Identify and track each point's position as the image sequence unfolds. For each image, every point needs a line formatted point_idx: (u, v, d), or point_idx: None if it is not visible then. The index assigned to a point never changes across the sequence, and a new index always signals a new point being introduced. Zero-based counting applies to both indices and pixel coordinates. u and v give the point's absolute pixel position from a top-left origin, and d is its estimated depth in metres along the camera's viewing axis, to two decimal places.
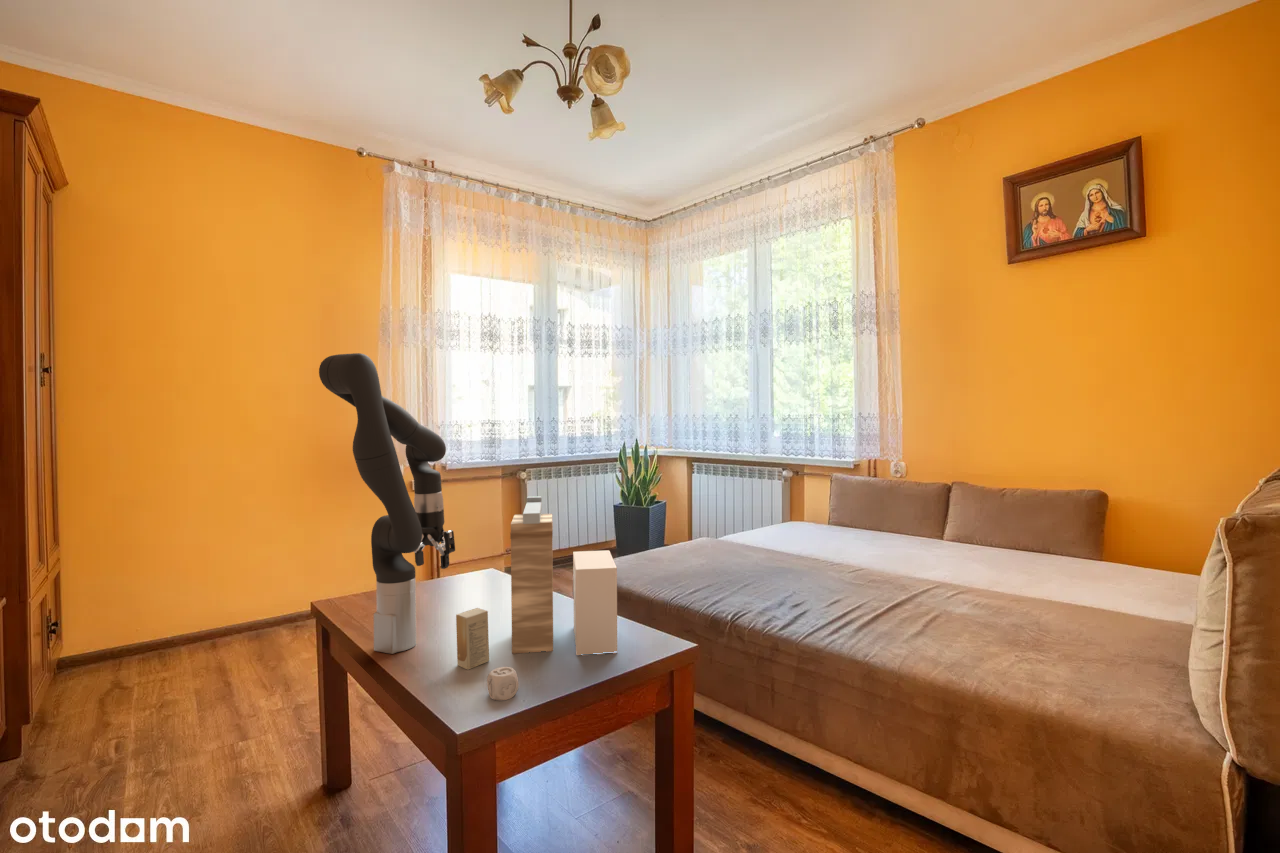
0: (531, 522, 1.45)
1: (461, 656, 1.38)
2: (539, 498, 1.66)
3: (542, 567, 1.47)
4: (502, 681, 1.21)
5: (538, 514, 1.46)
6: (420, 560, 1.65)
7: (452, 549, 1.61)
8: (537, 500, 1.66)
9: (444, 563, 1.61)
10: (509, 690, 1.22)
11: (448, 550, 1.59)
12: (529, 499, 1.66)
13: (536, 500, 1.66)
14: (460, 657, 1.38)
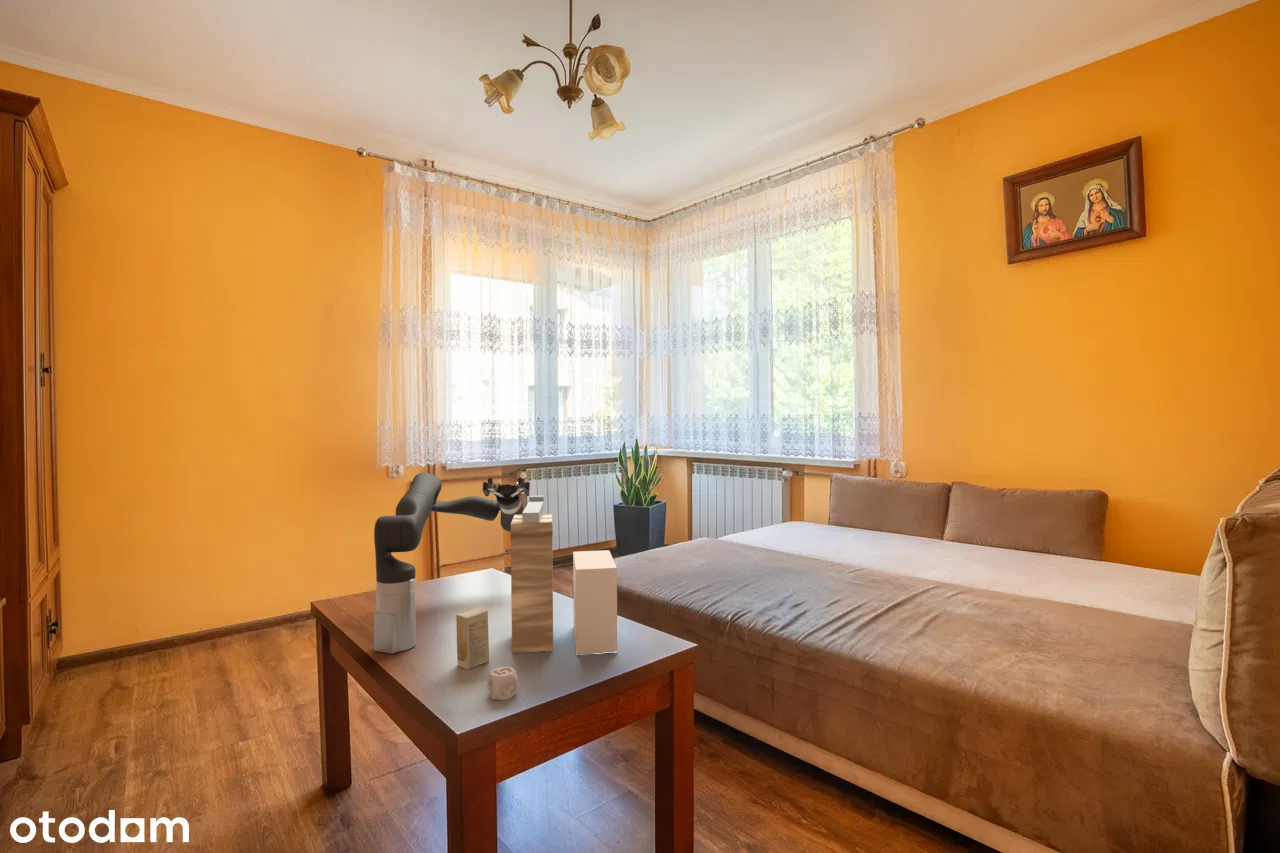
0: (530, 521, 1.47)
1: (461, 656, 1.38)
2: (541, 497, 1.68)
3: (542, 567, 1.47)
4: (502, 681, 1.21)
5: (537, 513, 1.47)
6: None
7: None
8: (539, 499, 1.67)
9: (488, 484, 1.79)
10: (509, 690, 1.22)
11: (483, 490, 1.82)
12: (531, 498, 1.67)
13: (538, 499, 1.67)
14: (460, 657, 1.38)
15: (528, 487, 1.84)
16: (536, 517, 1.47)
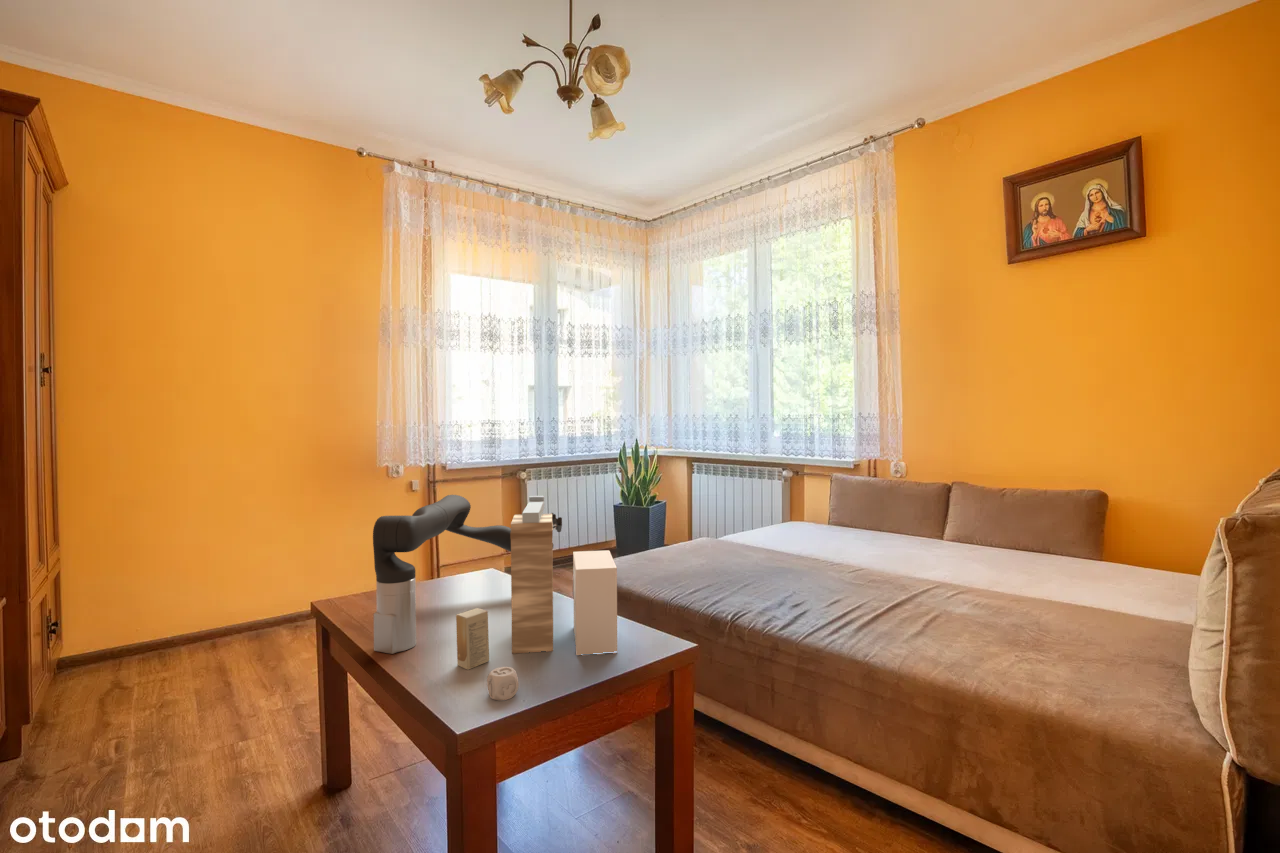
0: (530, 521, 1.47)
1: (461, 656, 1.38)
2: (541, 497, 1.68)
3: (542, 567, 1.47)
4: (502, 681, 1.21)
5: (537, 513, 1.47)
6: None
7: None
8: (539, 499, 1.67)
9: None
10: (509, 690, 1.22)
11: None
12: (531, 498, 1.67)
13: (538, 499, 1.67)
14: (460, 657, 1.38)
15: (560, 523, 1.76)
16: (536, 517, 1.47)
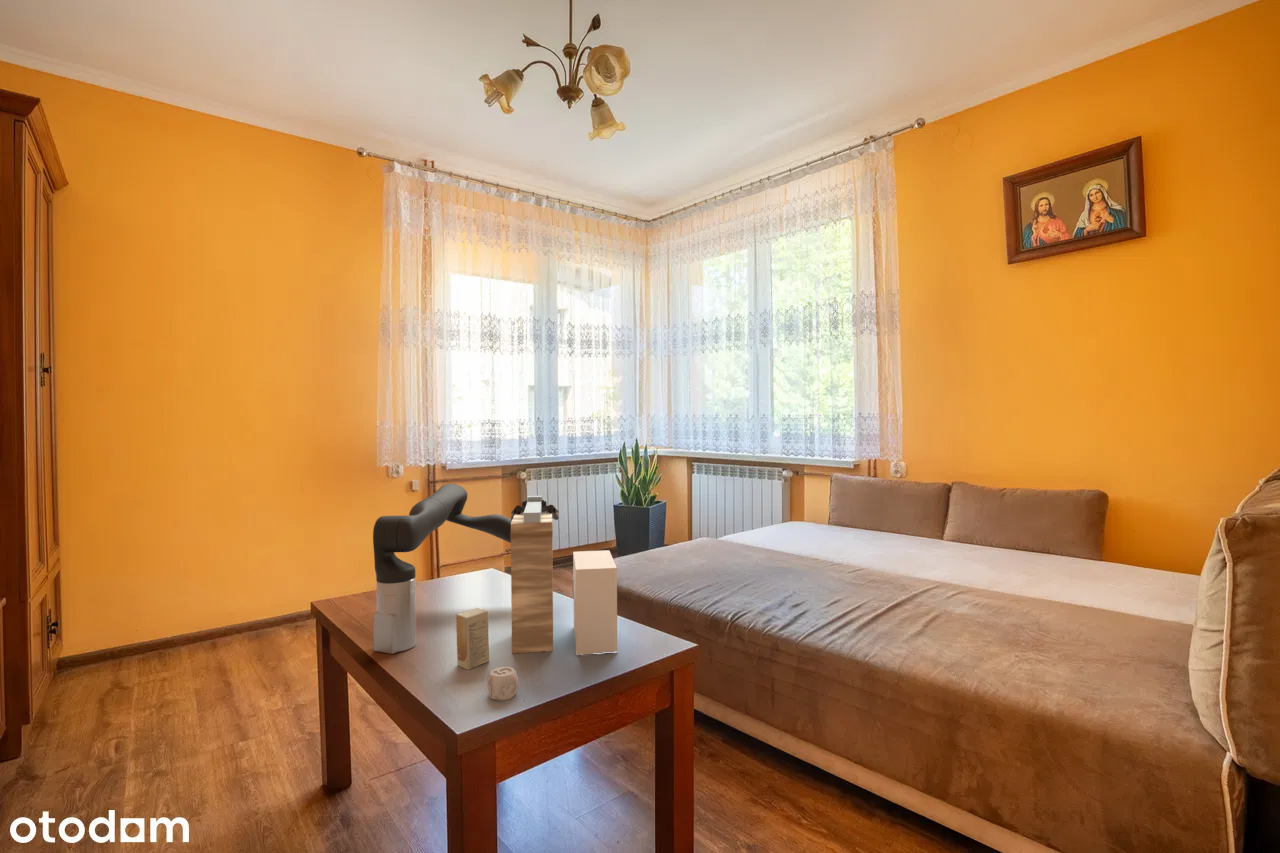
0: (532, 521, 1.46)
1: (461, 656, 1.38)
2: (539, 497, 1.67)
3: (542, 567, 1.47)
4: (502, 681, 1.21)
5: (539, 513, 1.47)
6: None
7: None
8: (537, 499, 1.67)
9: (523, 508, 1.63)
10: (509, 690, 1.22)
11: (516, 514, 1.66)
12: (530, 498, 1.67)
13: (536, 499, 1.67)
14: (460, 657, 1.38)
15: (551, 510, 1.67)
16: (537, 517, 1.47)
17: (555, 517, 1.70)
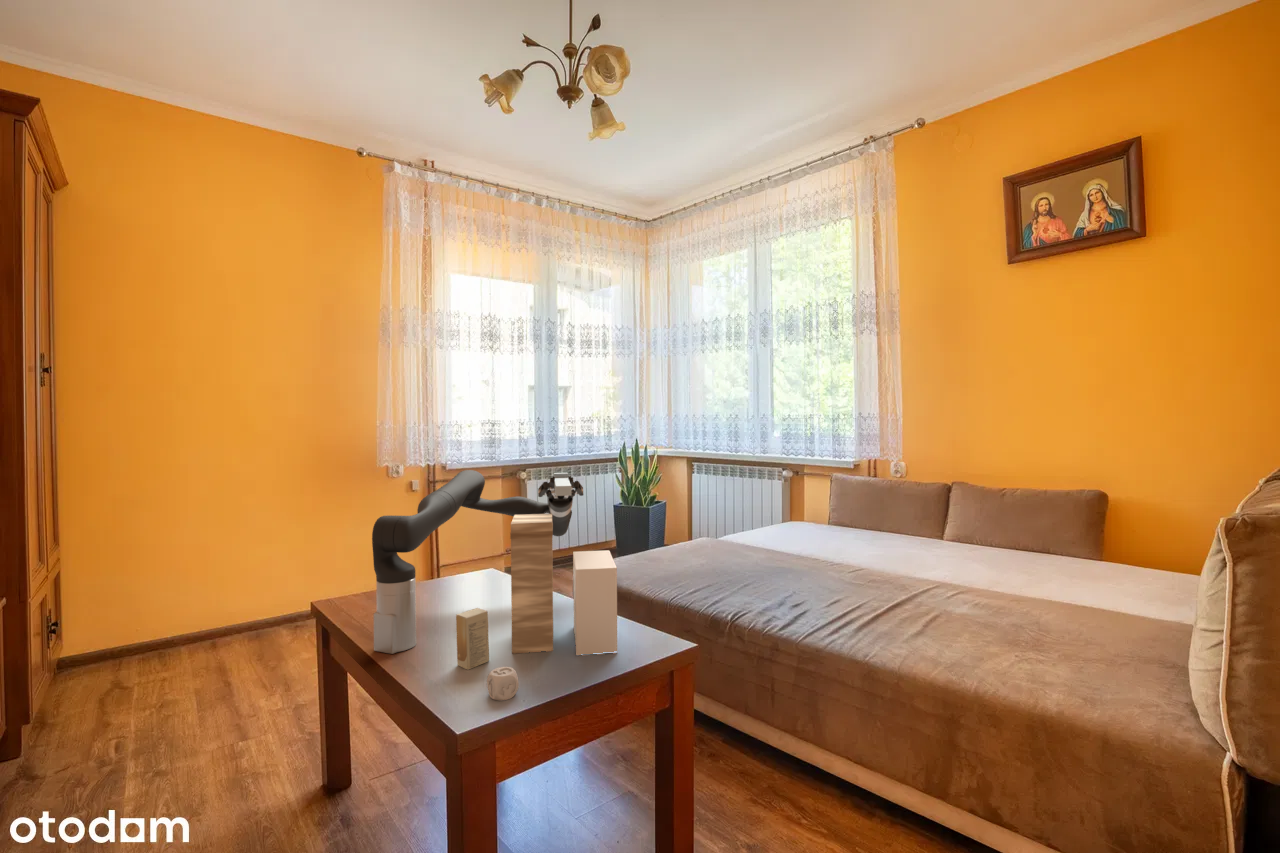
0: (563, 494, 1.54)
1: (461, 656, 1.38)
2: (566, 474, 1.75)
3: (542, 567, 1.47)
4: (502, 681, 1.21)
5: (570, 487, 1.54)
6: None
7: None
8: (564, 476, 1.75)
9: (551, 483, 1.70)
10: (509, 690, 1.22)
11: (544, 490, 1.73)
12: (556, 475, 1.74)
13: (563, 476, 1.75)
14: (460, 657, 1.38)
15: (577, 486, 1.74)
16: (569, 490, 1.54)
17: (580, 493, 1.77)
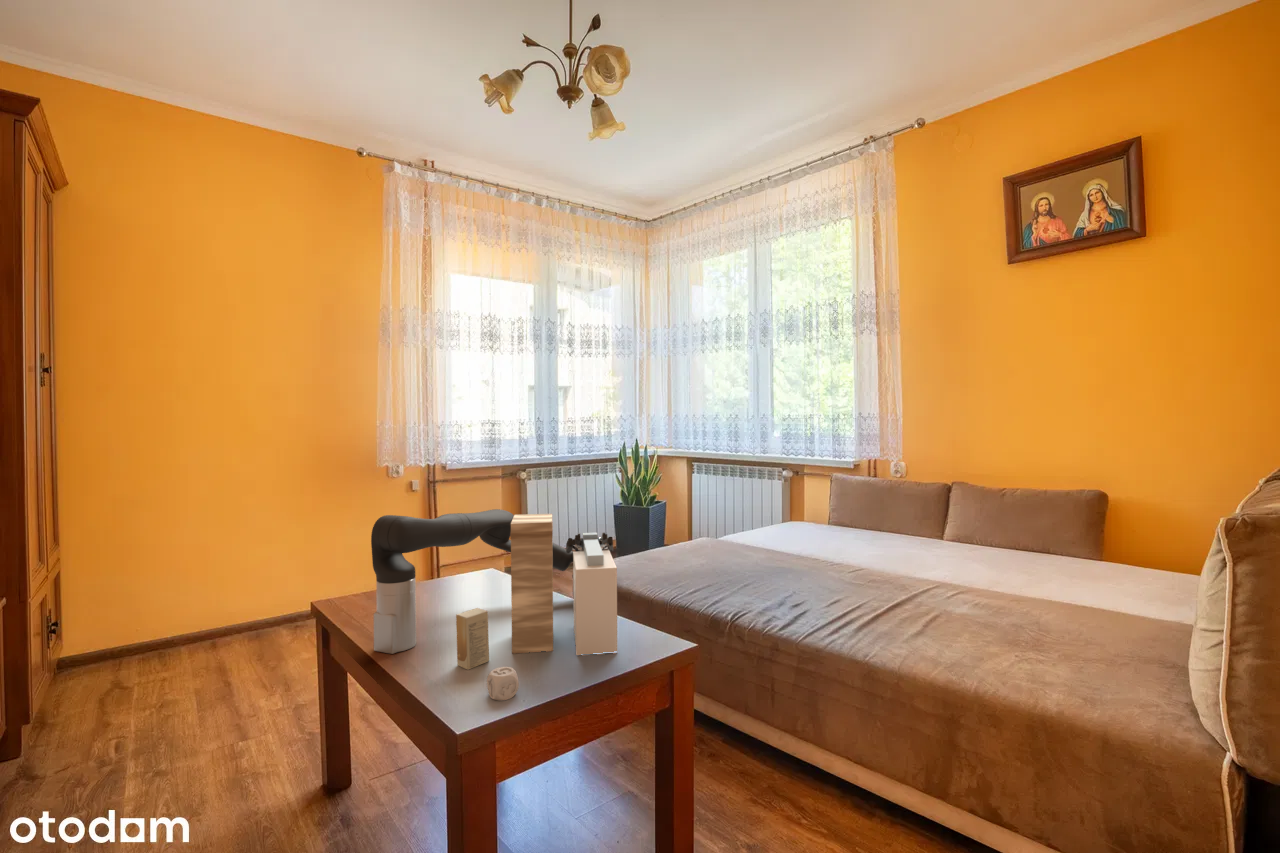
0: (595, 564, 1.48)
1: (461, 655, 1.38)
2: (595, 535, 1.69)
3: (542, 567, 1.47)
4: (502, 681, 1.21)
5: (602, 556, 1.48)
6: (602, 537, 1.66)
7: None
8: (593, 537, 1.69)
9: (576, 541, 1.64)
10: (509, 690, 1.22)
11: (569, 547, 1.67)
12: (585, 536, 1.69)
13: (592, 537, 1.69)
14: (460, 657, 1.38)
15: (611, 543, 1.68)
16: (601, 560, 1.48)
17: (611, 549, 1.72)
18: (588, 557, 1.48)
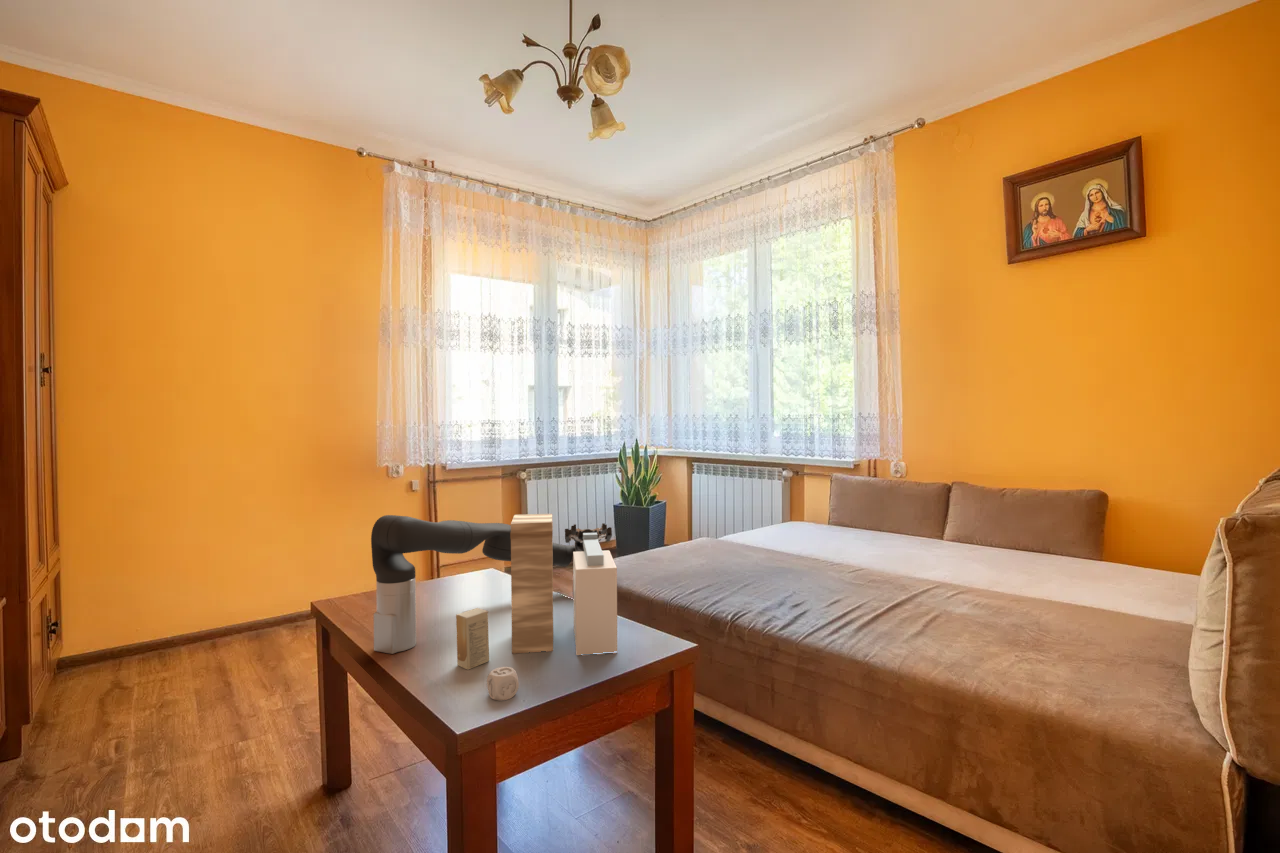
0: (595, 564, 1.48)
1: (461, 655, 1.38)
2: (595, 535, 1.69)
3: (542, 567, 1.47)
4: (502, 681, 1.21)
5: (602, 556, 1.48)
6: (602, 528, 1.78)
7: None
8: (593, 537, 1.69)
9: (572, 531, 1.76)
10: (509, 690, 1.22)
11: (565, 537, 1.79)
12: (585, 536, 1.69)
13: (592, 537, 1.69)
14: (460, 657, 1.38)
15: (610, 533, 1.81)
16: (601, 560, 1.48)
17: (608, 539, 1.84)
18: (588, 557, 1.48)
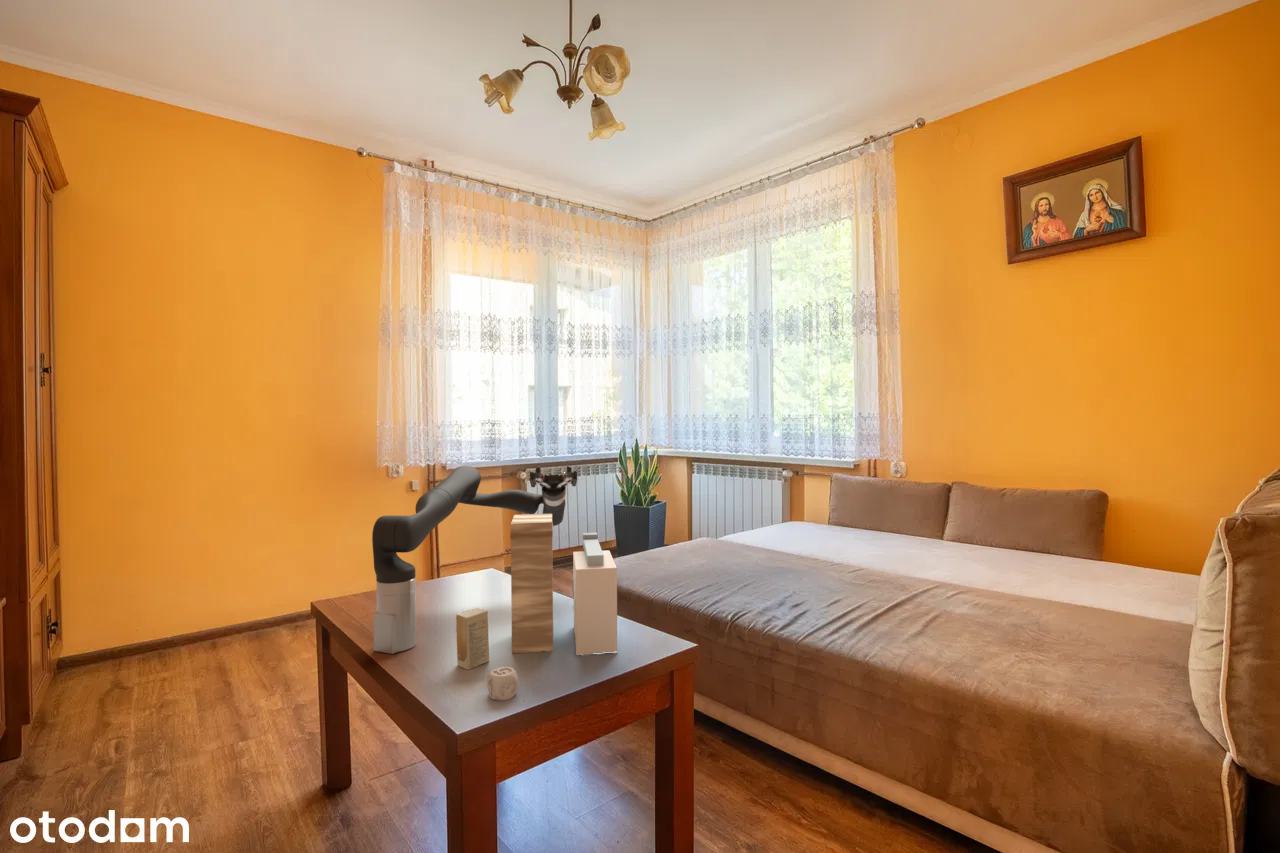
0: (595, 564, 1.48)
1: (461, 655, 1.38)
2: (595, 535, 1.69)
3: (542, 567, 1.47)
4: (502, 681, 1.21)
5: (602, 556, 1.48)
6: None
7: None
8: (593, 537, 1.69)
9: (537, 473, 1.76)
10: (509, 690, 1.22)
11: (530, 480, 1.79)
12: (585, 536, 1.69)
13: (592, 537, 1.69)
14: (460, 657, 1.38)
15: (576, 476, 1.80)
16: (601, 560, 1.48)
17: (574, 483, 1.83)
18: (588, 557, 1.48)
